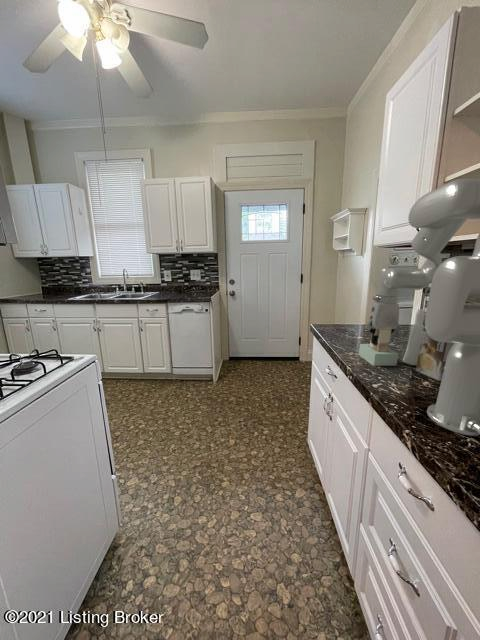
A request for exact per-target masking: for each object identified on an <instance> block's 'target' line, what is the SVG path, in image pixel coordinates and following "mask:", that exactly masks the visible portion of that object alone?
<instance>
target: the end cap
mask: <svg viewBox="0 0 480 640" xmlns="http://www.w3.org/2000/svg"><path fill="white" fill-rule="evenodd" d="M358 355H359V356H360V357H361V358H362V359H364V360H365V361H366V362H368V363H369V364H370V365H371V366H373V367H375V366H376V367H379V366H380V367H381V366H382V367H383V366H384V367H385V366H386V367H387V366H389V367H390V366H397V364H398V358H399V352H396V351H394V350H392V349H391V348H390V347H388V352H377V351H375V350H373V349H372V348H370V343H359V349H358Z"/></svg>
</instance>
